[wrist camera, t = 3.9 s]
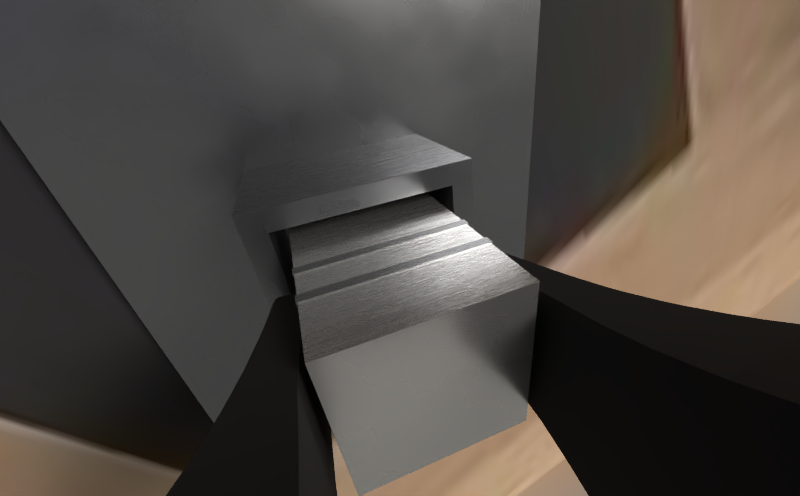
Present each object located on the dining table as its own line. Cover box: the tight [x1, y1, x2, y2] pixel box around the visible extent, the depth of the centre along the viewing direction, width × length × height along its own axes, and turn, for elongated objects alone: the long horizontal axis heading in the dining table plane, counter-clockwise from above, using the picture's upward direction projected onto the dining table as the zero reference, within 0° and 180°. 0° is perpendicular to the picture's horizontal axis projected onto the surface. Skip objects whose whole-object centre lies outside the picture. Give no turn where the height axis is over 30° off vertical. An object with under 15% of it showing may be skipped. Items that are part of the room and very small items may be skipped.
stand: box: [0, 0, 541, 423], centre depth 12 cm, size 16×16×5 cm
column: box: [289, 192, 540, 496], centre depth 10 cm, size 4×4×8 cm
